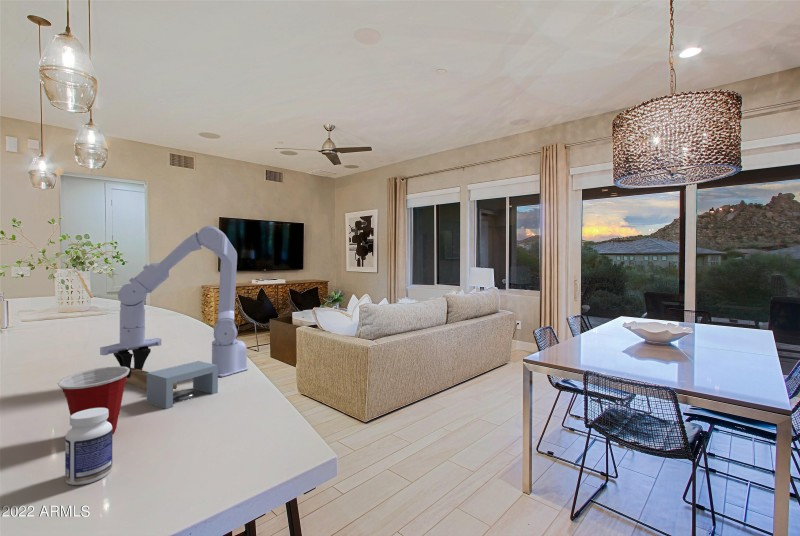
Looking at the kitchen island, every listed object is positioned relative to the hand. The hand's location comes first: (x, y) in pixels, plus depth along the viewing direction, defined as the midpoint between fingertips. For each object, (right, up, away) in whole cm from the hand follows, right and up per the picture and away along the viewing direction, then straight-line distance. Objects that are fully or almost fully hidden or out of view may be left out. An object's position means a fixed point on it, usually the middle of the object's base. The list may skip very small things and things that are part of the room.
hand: (132, 375), depth 105 cm
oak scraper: (+6, -2, -3) cm, 7 cm away
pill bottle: (+26, -3, -46) cm, 53 cm away
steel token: (+21, -2, -11) cm, 24 cm away
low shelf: (+21, -2, -11) cm, 24 cm away
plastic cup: (+16, -3, -33) cm, 36 cm away
